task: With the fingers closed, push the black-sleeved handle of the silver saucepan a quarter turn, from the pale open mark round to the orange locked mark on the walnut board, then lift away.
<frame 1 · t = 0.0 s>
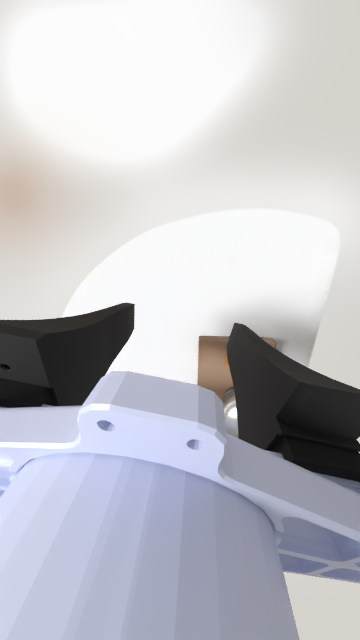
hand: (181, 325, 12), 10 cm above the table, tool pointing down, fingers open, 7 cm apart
mounting board: (237, 391, 26), on the table
silver saucepan: (231, 423, 22), point 4 cm above the table, hinge at 0.0°
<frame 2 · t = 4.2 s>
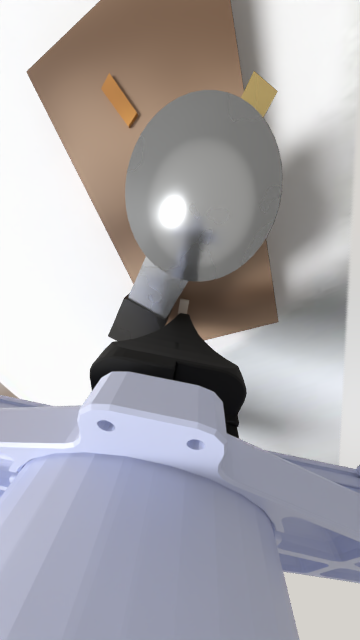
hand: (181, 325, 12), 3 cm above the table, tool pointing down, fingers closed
mounting board: (200, 217, 12), on the table
silver saucepan: (177, 253, 9), point 4 cm above the table, hinge at 0.8°, touching gripper
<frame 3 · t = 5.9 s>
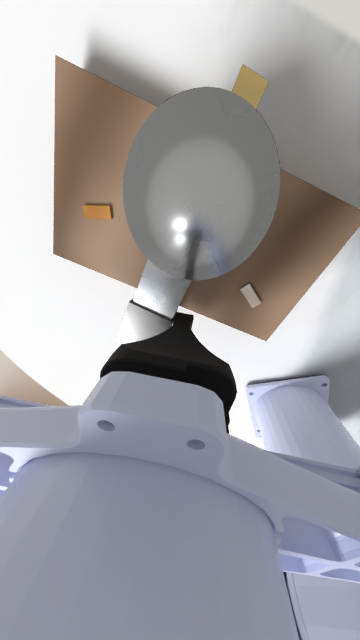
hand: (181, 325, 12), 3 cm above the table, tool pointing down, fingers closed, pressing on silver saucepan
mounting board: (198, 216, 12), on the table
silver saucepan: (178, 253, 9), point 4 cm above the table, hinge at 43.7°, touching gripper
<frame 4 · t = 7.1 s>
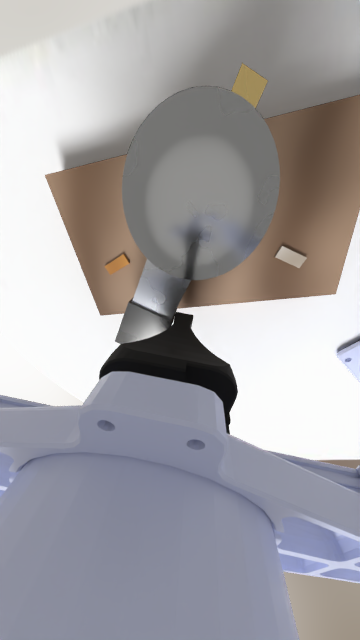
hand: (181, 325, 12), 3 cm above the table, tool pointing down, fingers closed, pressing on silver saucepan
mounting board: (198, 216, 12), on the table
silver saucepan: (177, 253, 9), point 4 cm above the table, hinge at 73.5°, touching gripper
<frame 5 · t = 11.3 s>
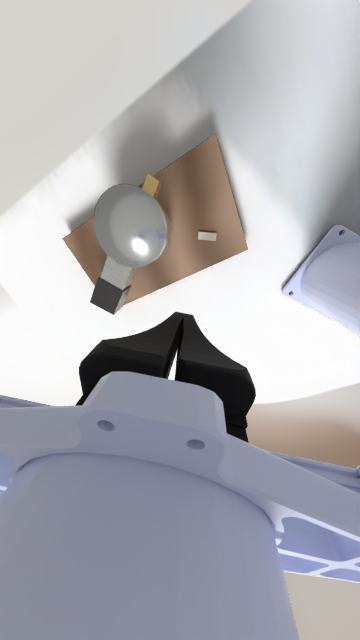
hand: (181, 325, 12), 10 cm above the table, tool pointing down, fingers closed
mounting board: (148, 230, 19), on the table
silver saucepan: (126, 252, 16), point 4 cm above the table, hinge at 95.4°
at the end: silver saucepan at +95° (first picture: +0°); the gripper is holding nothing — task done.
